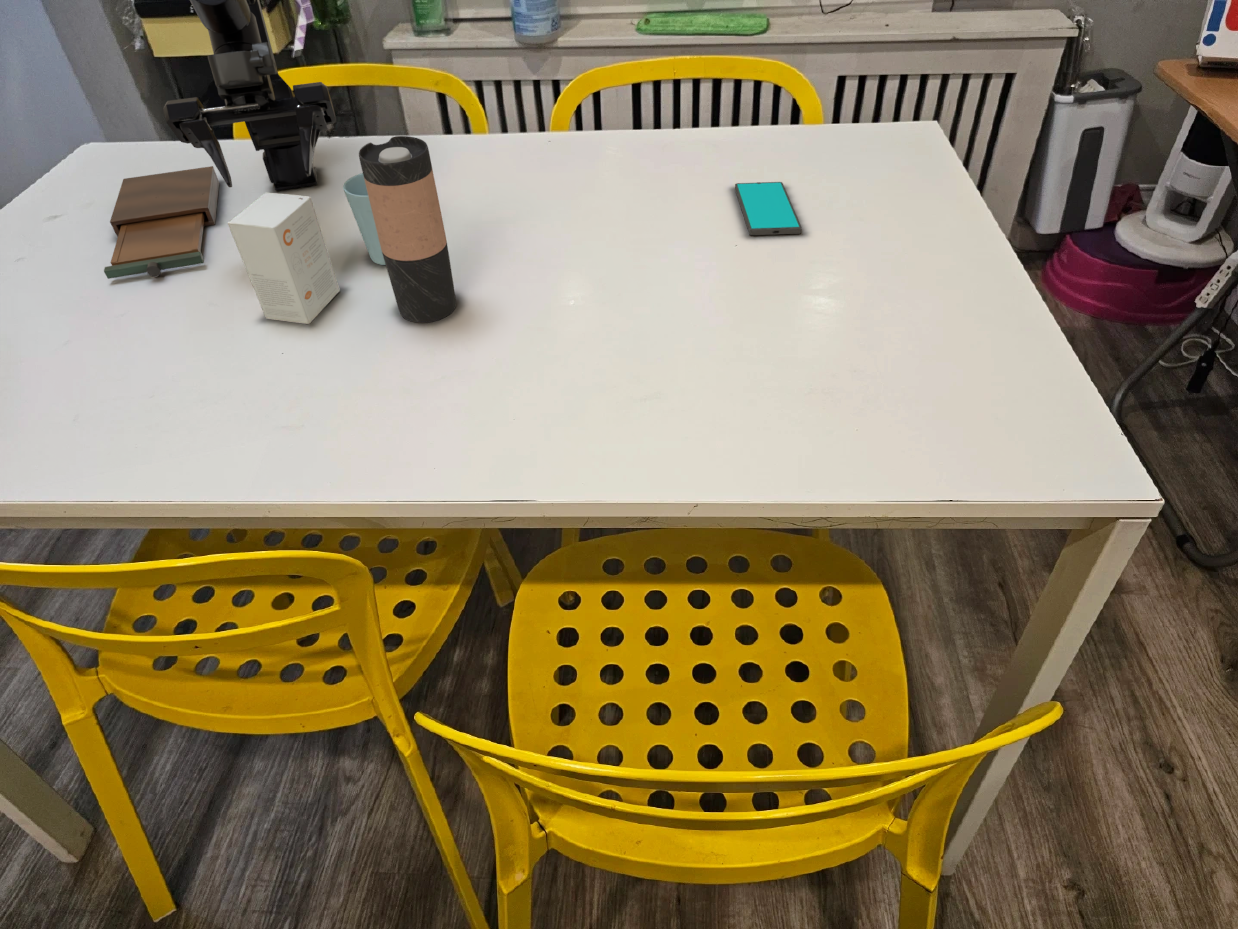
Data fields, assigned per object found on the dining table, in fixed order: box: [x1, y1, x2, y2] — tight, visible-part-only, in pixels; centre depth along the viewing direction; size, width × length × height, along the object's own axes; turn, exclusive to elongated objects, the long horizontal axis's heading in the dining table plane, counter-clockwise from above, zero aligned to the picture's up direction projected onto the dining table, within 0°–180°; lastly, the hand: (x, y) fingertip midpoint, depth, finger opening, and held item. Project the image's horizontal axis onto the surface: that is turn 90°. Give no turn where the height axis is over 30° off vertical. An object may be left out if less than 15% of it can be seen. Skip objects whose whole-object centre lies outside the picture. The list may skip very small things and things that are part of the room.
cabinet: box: [109, 165, 220, 238], centre depth 120 cm, size 15×13×3 cm
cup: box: [342, 172, 386, 266], centre depth 106 cm, size 8×8×10 cm
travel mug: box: [358, 135, 457, 324], centre depth 93 cm, size 8×8×20 cm
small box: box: [227, 192, 341, 325], centre depth 96 cm, size 8×6×13 cm
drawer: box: [103, 212, 205, 280], centre depth 110 cm, size 16×12×2 cm
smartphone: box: [734, 181, 803, 236], centre depth 116 cm, size 7×1×15 cm
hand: (269, 180), depth 97 cm, fingers open, 9 cm apart
